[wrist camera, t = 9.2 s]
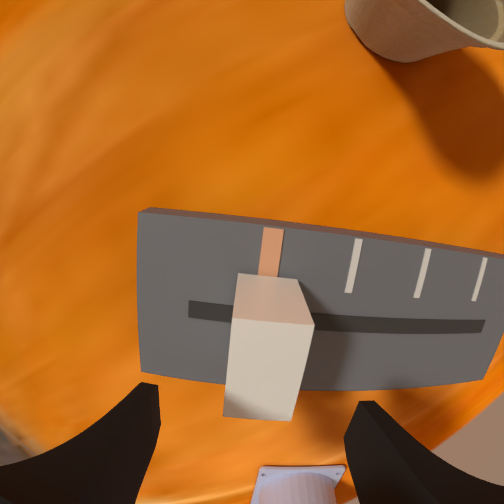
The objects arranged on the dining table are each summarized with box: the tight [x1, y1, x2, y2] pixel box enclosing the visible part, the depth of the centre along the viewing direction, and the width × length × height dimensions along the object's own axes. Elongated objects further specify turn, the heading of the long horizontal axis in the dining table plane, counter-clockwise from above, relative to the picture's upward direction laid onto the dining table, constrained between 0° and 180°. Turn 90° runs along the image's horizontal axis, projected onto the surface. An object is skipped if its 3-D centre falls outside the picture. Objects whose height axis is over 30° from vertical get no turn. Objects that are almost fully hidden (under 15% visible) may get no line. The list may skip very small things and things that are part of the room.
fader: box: [223, 273, 315, 421], centre depth 14 cm, size 5×3×5 cm, turn 173°
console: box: [137, 207, 504, 391], centre depth 18 cm, size 10×26×2 cm, turn 84°
